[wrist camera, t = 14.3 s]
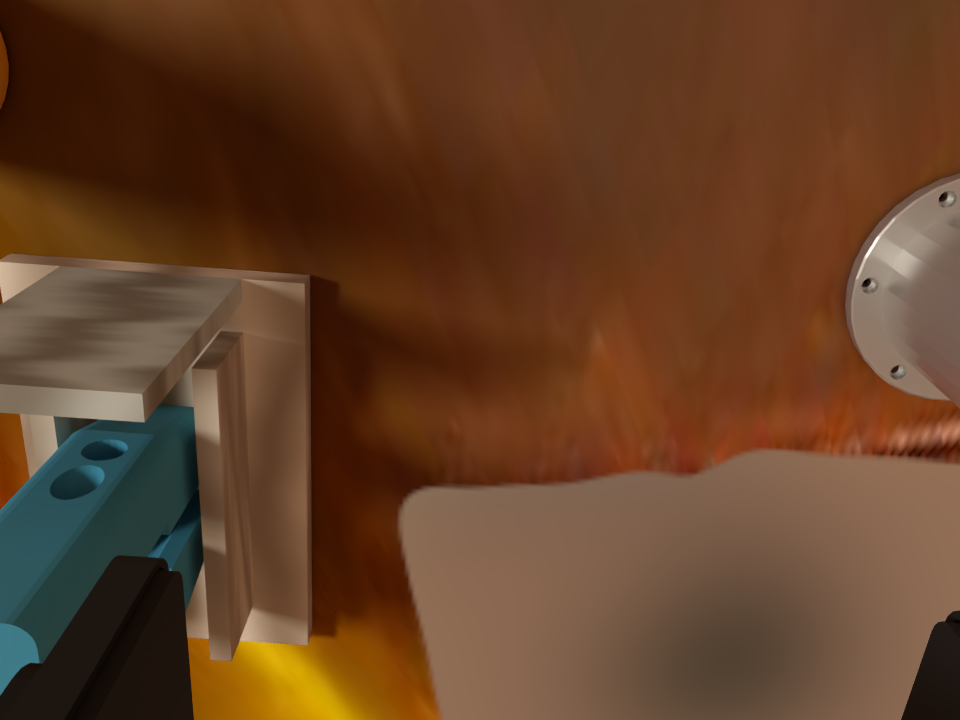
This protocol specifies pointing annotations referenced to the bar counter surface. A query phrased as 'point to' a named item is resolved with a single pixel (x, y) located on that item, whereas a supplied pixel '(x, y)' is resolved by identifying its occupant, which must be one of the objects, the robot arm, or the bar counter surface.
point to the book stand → (184, 382)
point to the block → (95, 524)
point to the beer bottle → (3, 70)
